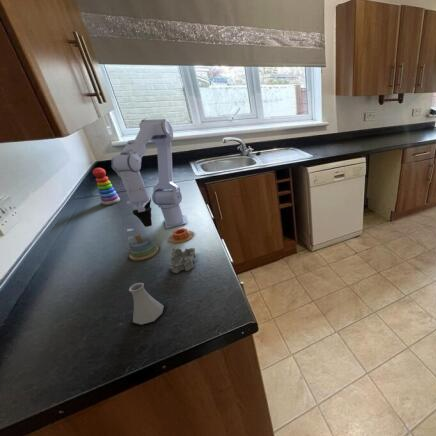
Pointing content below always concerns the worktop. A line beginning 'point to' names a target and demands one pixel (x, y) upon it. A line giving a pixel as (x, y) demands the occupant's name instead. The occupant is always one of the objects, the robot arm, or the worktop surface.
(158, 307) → the flask
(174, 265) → the egg carton
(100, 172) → the stacking toy
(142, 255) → the ring stack
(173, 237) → the cork coaster
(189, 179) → the worktop surface
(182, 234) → the orange ring
